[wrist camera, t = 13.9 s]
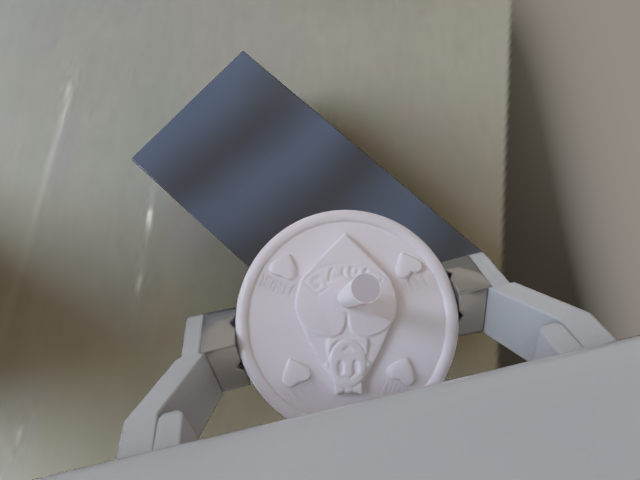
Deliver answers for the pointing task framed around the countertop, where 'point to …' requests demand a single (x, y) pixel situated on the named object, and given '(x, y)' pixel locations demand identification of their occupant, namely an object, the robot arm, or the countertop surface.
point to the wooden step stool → (275, 167)
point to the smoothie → (344, 313)
